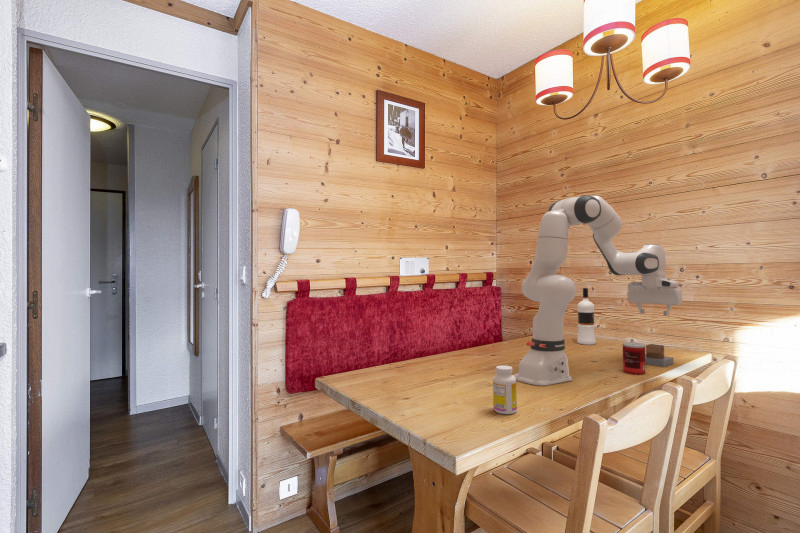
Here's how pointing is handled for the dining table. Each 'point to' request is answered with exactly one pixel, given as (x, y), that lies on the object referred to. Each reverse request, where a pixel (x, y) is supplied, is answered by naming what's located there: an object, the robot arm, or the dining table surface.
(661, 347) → the walnut block
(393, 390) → the dining table surface
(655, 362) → the slate tile
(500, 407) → the supplement bottle
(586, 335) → the vodka
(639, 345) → the canned food
